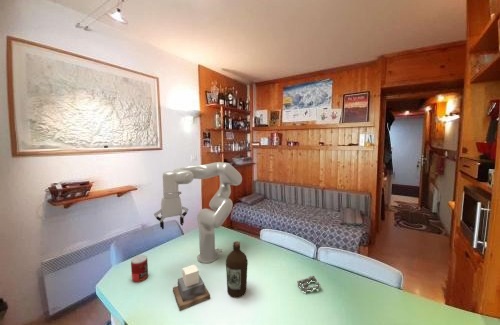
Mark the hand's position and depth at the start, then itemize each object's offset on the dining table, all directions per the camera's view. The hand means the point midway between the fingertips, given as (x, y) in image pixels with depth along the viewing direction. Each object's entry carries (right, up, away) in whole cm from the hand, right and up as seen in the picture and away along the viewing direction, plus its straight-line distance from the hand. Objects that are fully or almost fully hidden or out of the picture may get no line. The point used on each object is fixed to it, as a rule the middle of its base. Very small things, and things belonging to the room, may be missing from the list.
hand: (172, 226), depth 113 cm
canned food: (-18, -29, +1) cm, 34 cm away
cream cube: (+13, -23, -12) cm, 29 cm away
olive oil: (+35, -30, -9) cm, 47 cm away
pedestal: (+13, -30, -11) cm, 34 cm away
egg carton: (+71, -30, -6) cm, 77 cm away
